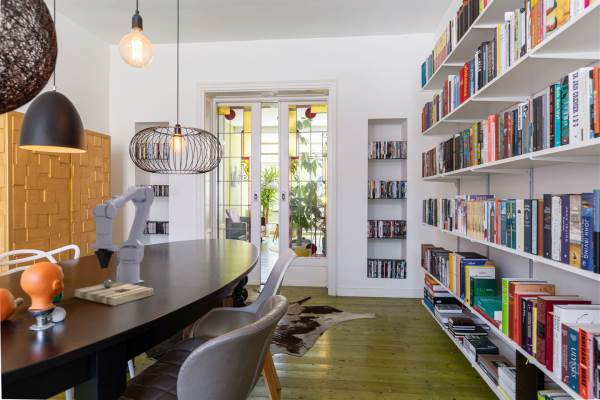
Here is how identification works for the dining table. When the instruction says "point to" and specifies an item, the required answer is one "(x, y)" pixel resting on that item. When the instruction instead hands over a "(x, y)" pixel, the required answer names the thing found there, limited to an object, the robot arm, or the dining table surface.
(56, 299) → the soda can
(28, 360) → the dining table surface
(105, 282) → the steel ball
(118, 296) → the birch board
